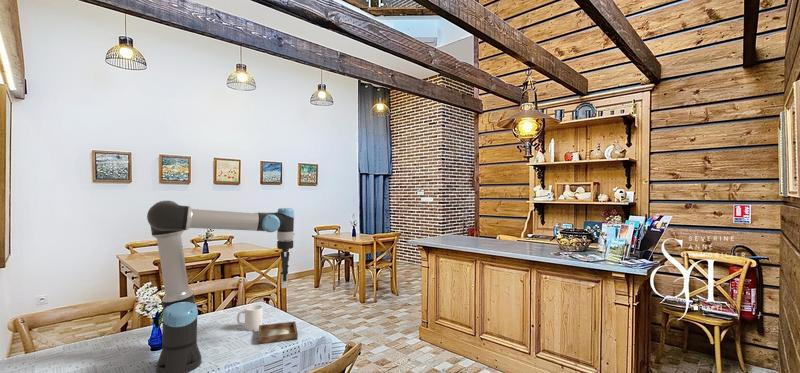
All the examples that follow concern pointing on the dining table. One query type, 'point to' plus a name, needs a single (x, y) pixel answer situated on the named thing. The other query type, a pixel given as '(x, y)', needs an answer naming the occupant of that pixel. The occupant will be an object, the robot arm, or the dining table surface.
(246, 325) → the cup
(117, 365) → the dining table surface
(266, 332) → the tray
